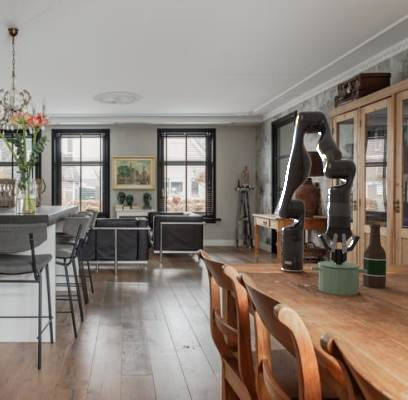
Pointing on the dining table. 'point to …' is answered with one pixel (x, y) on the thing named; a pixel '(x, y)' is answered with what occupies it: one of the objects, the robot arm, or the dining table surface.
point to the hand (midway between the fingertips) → (338, 262)
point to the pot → (339, 280)
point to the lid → (338, 262)
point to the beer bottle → (374, 260)
